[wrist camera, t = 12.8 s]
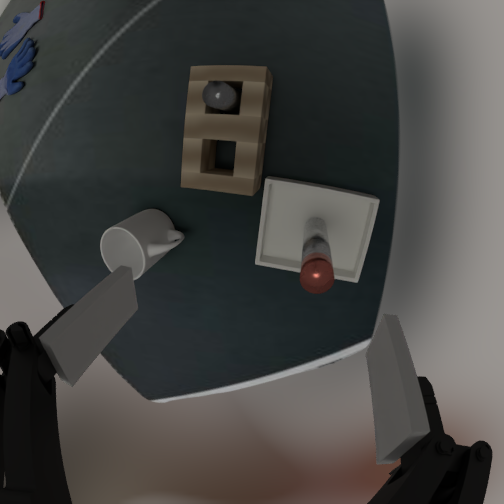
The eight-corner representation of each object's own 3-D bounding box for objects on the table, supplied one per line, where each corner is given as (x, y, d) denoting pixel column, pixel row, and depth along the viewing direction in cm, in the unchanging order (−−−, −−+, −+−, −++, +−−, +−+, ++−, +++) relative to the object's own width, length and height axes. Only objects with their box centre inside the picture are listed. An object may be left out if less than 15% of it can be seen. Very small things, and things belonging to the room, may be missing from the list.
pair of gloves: (6, 32, 32) (-2, 31, 29) (51, -12, 26) (42, -15, 23) (-2, 113, 44) (-11, 114, 41) (39, 76, 38) (28, 76, 35)
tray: (268, 175, 39) (265, 178, 36) (374, 195, 37) (379, 200, 34) (258, 256, 44) (255, 264, 42) (355, 273, 42) (357, 282, 39)
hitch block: (207, 74, 34) (191, 66, 29) (273, 76, 33) (266, 66, 28) (197, 180, 41) (180, 186, 36) (260, 187, 40) (252, 196, 35)
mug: (198, 254, 47) (170, 284, 37) (141, 252, 49) (108, 278, 40) (191, 205, 43) (158, 225, 34) (133, 208, 46) (94, 227, 36)
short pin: (225, 91, 35) (203, 80, 27) (248, 92, 35) (231, 80, 26) (223, 113, 36) (200, 107, 28) (246, 114, 36) (228, 108, 28)
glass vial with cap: (306, 215, 40) (303, 260, 26) (328, 219, 39) (338, 266, 25) (302, 236, 41) (296, 290, 27) (324, 240, 41) (329, 296, 27)
